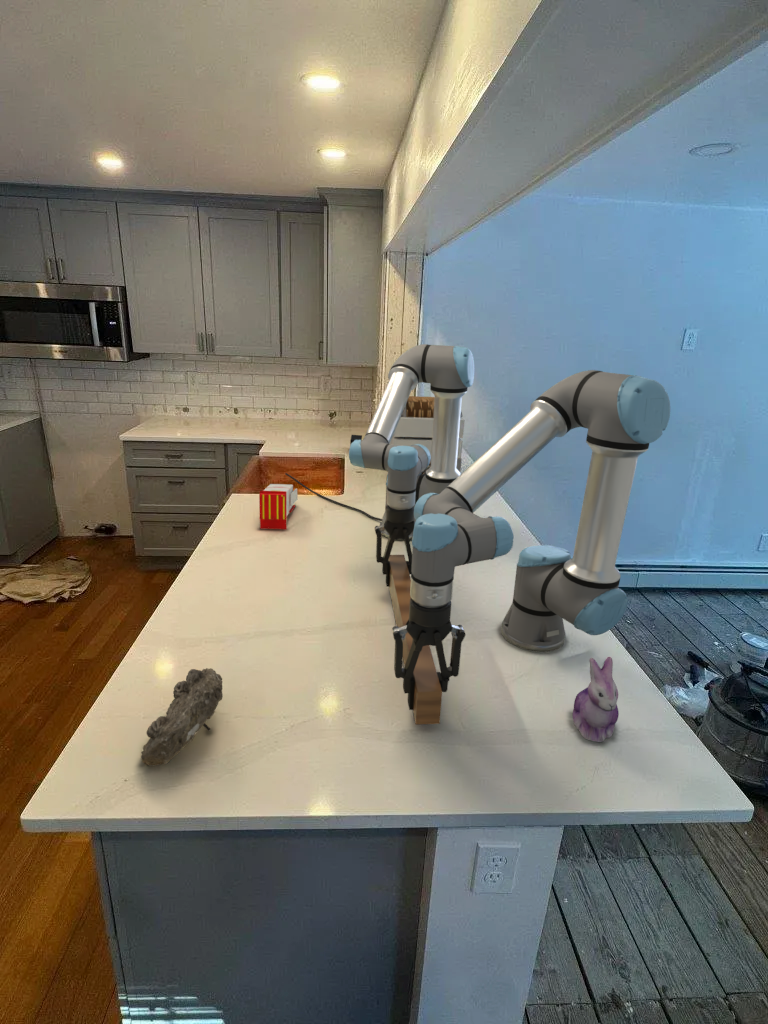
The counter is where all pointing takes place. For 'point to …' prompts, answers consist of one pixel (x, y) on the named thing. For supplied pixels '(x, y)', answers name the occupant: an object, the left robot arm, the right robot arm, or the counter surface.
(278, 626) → the counter surface
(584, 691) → the figurine
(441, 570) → the right robot arm
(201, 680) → the fossil
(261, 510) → the toy
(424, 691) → the post
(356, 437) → the figurine character
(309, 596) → the counter surface
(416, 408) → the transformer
